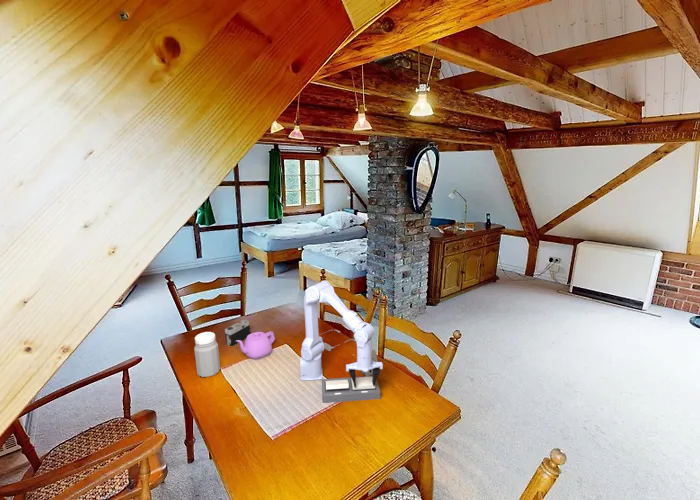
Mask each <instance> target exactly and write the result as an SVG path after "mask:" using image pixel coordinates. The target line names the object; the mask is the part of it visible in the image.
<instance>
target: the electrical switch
mask: <svg viewBox="0 0 700 500" xmlns="http://www.w3.org/2000/svg"><path fill="white" fill-rule="evenodd" d="M371 361H373V362H379V360H378V356H377V351H376V350H375V349H372V357H371ZM360 372H361V375H364V376H365V377H366V376H373V370H372V369H370V370H368V372H363V371H362V370H360Z"/></svg>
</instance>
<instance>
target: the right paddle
mask: <svg viewBox="0 0 700 500" xmlns="http://www.w3.org/2000/svg"><path fill="white" fill-rule="evenodd" d="M357 377H358V378H356V387H354V383H353V380H352V378H351V382H352V388H353V390H358V389H373V388H375V386H373V383H372V377H366V376H357Z"/></svg>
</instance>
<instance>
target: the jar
mask: <svg viewBox="0 0 700 500" xmlns="http://www.w3.org/2000/svg"><path fill="white" fill-rule="evenodd" d="M194 343H195V346H194V347H193V350H194V359H195V367H196V374H197V376H198V377H200V376H201V378H203V377H208V378H210V377H209V376H212V377H214V376H216V375H217V374H218V373H219V371H220V370H221V363H220V352H219V344H218V342H217V340H216V334H215V333H214V332H212V331H204V332H200V333H199V334H197V335H195V337H194ZM216 373H217V374H216ZM215 374H216V375H215ZM213 375H214V376H213Z"/></svg>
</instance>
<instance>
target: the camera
mask: <svg viewBox="0 0 700 500" xmlns="http://www.w3.org/2000/svg"><path fill="white" fill-rule="evenodd" d="M249 334H251V325H250V321H249V320H247V319H242V320H240V321H239V322H236V323H234V324H232V325H231V326H228V327H226V328H225V329H224V336H225V345H229V346H233V345H235V344H236V345H237V343H238V344H239V342H237V341H236V340H241V341H242V342H244V341H245V340H246V337H247V336H248V335H249ZM244 339H245V340H244ZM236 345H235V346H236ZM233 347H234V346H233Z"/></svg>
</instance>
